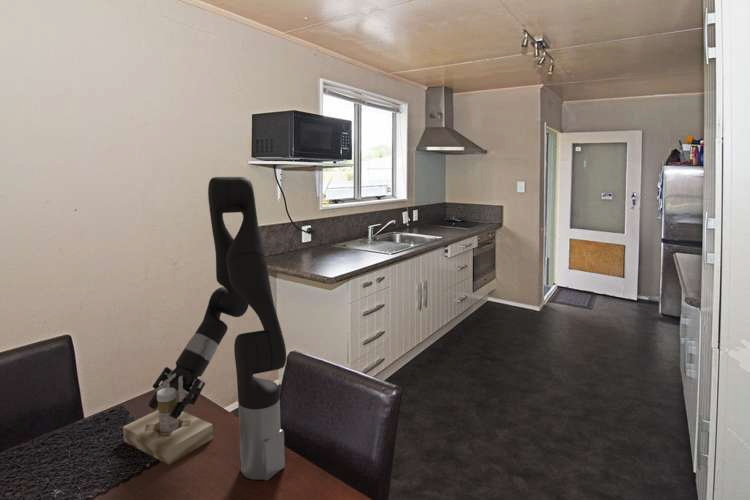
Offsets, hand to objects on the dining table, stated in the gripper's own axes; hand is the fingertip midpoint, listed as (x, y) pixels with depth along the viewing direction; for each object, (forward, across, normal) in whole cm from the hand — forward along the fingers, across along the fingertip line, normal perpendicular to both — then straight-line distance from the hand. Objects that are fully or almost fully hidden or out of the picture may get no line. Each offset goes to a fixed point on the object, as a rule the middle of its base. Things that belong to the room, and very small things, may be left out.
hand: (162, 412), depth 120 cm
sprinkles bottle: (+5, 0, +7) cm, 8 cm away
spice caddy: (+5, 0, +7) cm, 8 cm away
